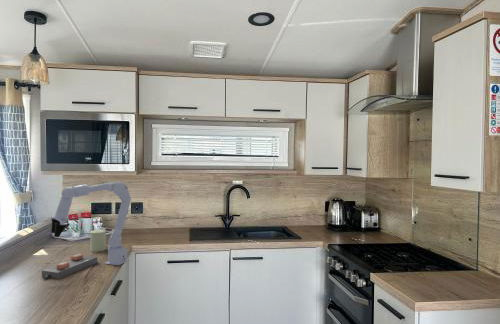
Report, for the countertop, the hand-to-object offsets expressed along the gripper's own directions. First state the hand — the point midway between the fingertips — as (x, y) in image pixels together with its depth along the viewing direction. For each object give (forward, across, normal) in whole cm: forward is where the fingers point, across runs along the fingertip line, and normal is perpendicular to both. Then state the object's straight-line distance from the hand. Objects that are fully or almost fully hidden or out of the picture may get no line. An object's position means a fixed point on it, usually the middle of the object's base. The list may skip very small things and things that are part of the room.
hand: (54, 234), depth 180 cm
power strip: (+15, +10, +9) cm, 20 cm away
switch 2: (+11, +4, +14) cm, 18 cm away
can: (+12, -20, +32) cm, 39 cm away
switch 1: (+12, +14, +5) cm, 19 cm away
